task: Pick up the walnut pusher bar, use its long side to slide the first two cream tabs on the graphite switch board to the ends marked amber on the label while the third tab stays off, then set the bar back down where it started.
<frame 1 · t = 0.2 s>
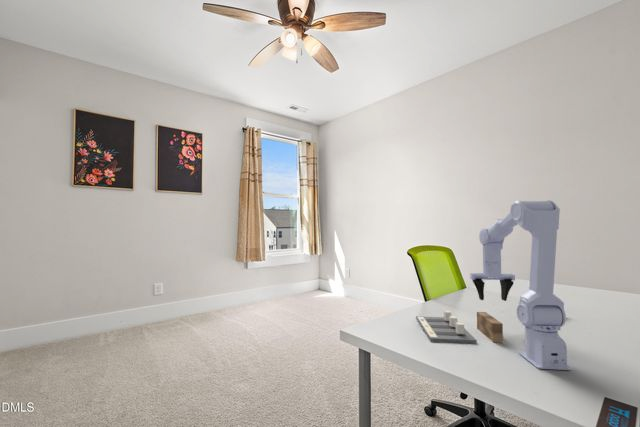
hand: (492, 299, 107), 10 cm above the table, tool pointing down, fingers open, 7 cm apart
tab 3: (447, 315, 111), point 3 cm above the table, slide at 0.0 cm
switch board: (442, 329, 105), on the table
tab 2: (453, 321, 104), point 3 cm above the table, slide at 0.0 cm
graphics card: (537, 318, 119), on the table
pusher bar: (489, 335, 100), on the table
tab 1: (459, 328, 98), point 3 cm above the table, slide at 0.0 cm
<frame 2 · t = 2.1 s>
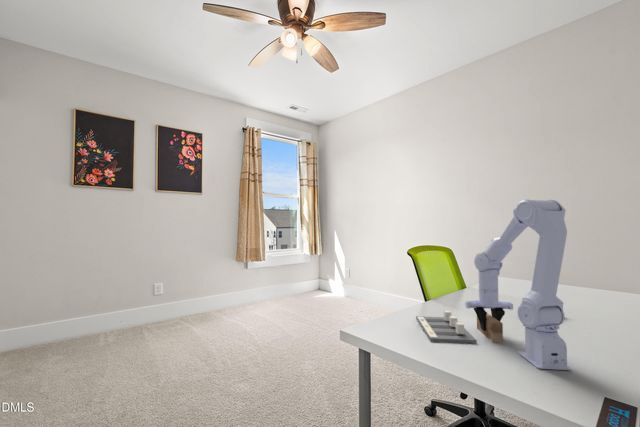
hand: (489, 330, 100), 2 cm above the table, tool pointing down, fingers closed on pusher bar, 3 cm apart
pusher bar: (489, 335, 100), on the table, touching gripper
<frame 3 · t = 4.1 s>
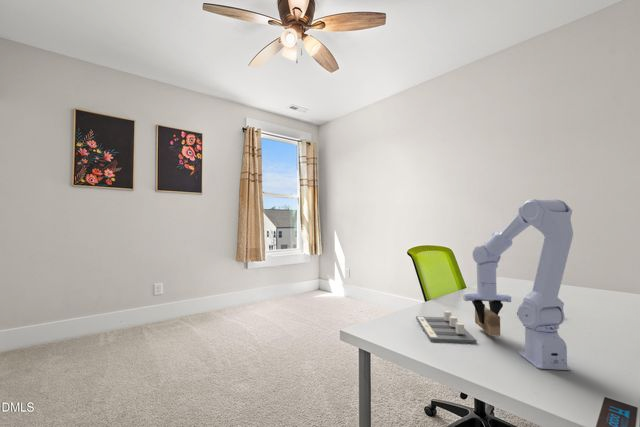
hand: (487, 322, 100), 4 cm above the table, tool pointing down, fingers closed on pusher bar, 3 cm apart
pusher bar: (487, 328, 100), point 2 cm above the table, touching gripper
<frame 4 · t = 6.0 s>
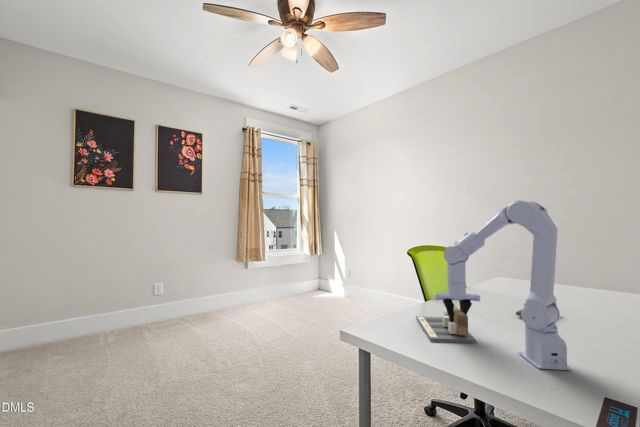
hand: (456, 321, 101), 4 cm above the table, tool pointing down, fingers closed on pusher bar, 3 cm apart
tab 2: (446, 321, 105), point 3 cm above the table, slide at 2.3 cm, touching pusher bar
pusher bar: (456, 328, 101), point 2 cm above the table, touching gripper, tab 1, tab 2
tab 1: (452, 328, 98), point 3 cm above the table, slide at 2.3 cm, touching pusher bar
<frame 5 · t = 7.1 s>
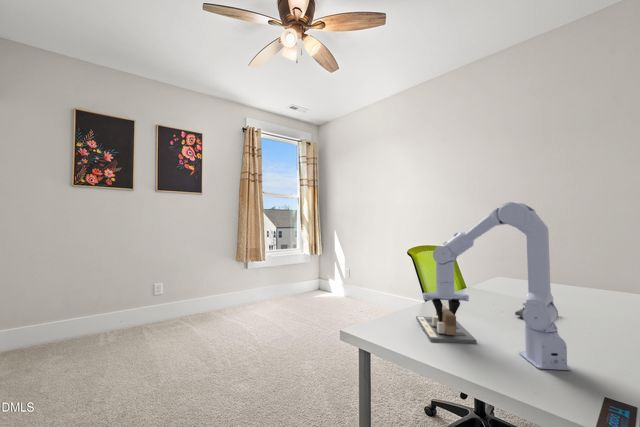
hand: (445, 321, 102), 4 cm above the table, tool pointing down, fingers closed on pusher bar, 3 cm apart
tab 2: (435, 321, 105), point 3 cm above the table, slide at 6.0 cm, touching pusher bar
pusher bar: (445, 328, 102), point 2 cm above the table, touching gripper, tab 1, tab 2
tab 1: (440, 327, 99), point 3 cm above the table, slide at 6.0 cm, touching pusher bar
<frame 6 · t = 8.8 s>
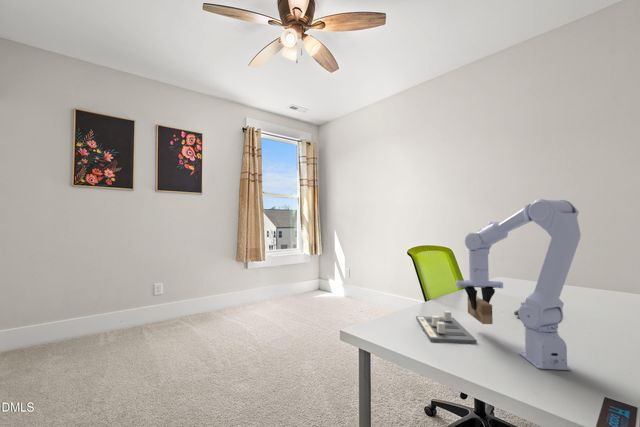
hand: (479, 309, 100), 9 cm above the table, tool pointing down, fingers closed on pusher bar, 3 cm apart
tab 2: (435, 321, 105), point 3 cm above the table, slide at 6.0 cm
pusher bar: (479, 318, 100), point 5 cm above the table, touching gripper
tab 1: (440, 327, 99), point 3 cm above the table, slide at 6.0 cm
when the fingers open (3 cm above the table, at t = 10.5 s): pusher bar stays where it is, on the table.
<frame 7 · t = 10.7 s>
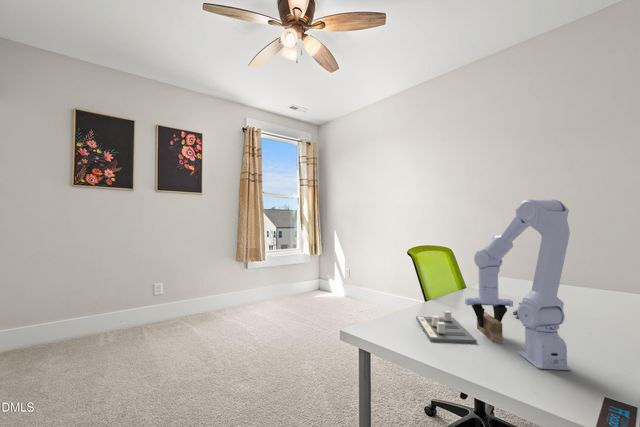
hand: (489, 327, 100), 3 cm above the table, tool pointing down, fingers open, 4 cm apart
pusher bar: (489, 335, 100), on the table
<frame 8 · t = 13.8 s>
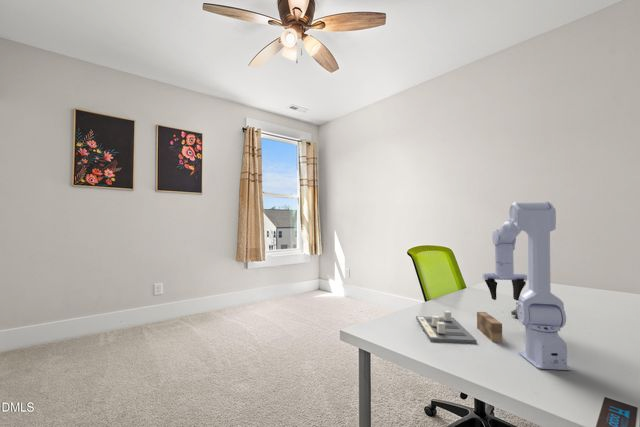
hand: (504, 299, 109), 9 cm above the table, tool pointing down, fingers open, 7 cm apart
at the end: tab 1 slide at 6.0 cm; tab 2 slide at 6.0 cm; tab 3 slide at 0.0 cm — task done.
